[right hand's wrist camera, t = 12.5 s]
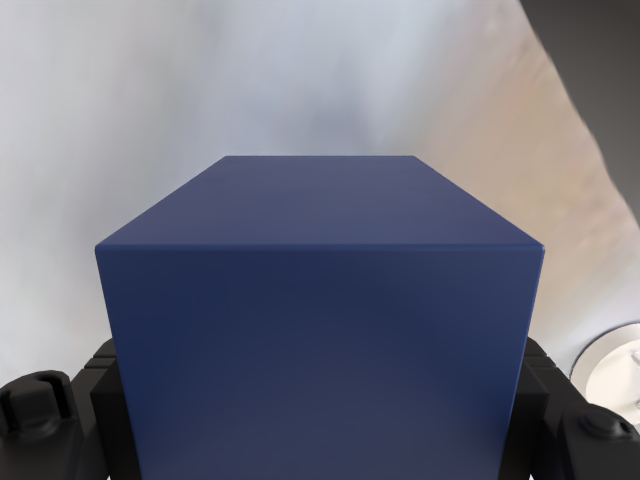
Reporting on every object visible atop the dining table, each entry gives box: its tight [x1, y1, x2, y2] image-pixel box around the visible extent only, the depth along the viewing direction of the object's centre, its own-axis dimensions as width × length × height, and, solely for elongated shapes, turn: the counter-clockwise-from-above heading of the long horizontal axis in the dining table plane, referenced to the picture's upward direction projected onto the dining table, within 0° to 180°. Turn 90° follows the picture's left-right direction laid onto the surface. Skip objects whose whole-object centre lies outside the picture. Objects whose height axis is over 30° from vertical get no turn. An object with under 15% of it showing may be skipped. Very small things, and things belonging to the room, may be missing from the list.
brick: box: [95, 156, 545, 480], centre depth 13 cm, size 9×7×10 cm
